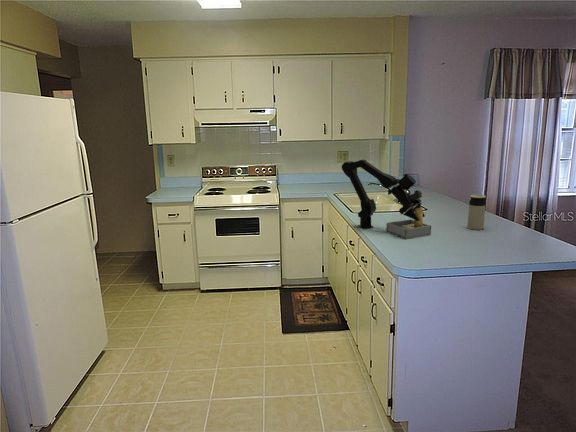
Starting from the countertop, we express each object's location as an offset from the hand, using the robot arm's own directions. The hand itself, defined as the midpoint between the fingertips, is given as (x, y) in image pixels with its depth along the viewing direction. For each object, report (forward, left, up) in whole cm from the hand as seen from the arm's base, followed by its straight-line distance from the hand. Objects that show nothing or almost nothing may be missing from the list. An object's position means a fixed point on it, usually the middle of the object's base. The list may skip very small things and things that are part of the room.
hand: (421, 218), depth 211 cm
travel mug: (+4, +34, -9) cm, 35 cm away
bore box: (-5, -4, -9) cm, 11 cm away
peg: (-1, -1, -7) cm, 8 cm away
